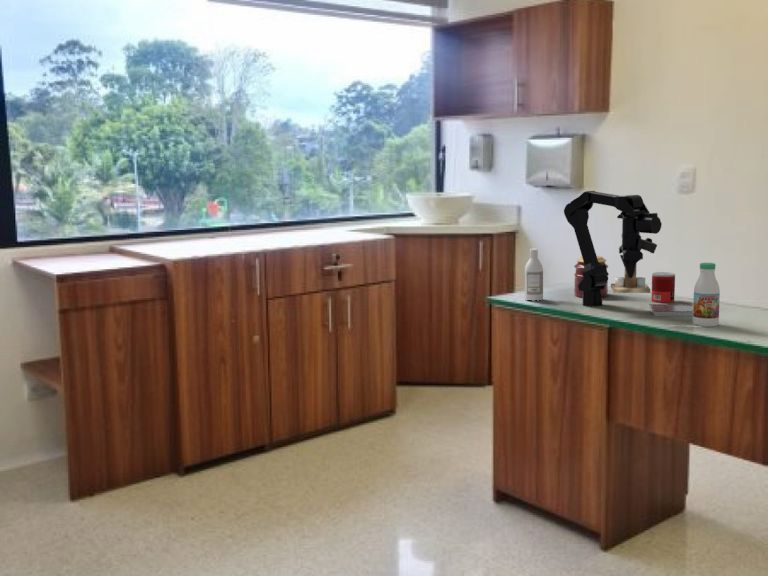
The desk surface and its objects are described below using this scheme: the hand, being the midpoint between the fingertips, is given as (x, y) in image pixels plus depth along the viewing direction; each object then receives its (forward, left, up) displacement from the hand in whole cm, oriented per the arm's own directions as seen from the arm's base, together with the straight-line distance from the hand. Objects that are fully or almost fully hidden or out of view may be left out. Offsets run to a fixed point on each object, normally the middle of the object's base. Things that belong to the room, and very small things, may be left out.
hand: (630, 276), depth 266 cm
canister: (-11, +35, -13) cm, 39 cm away
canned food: (+14, +20, -13) cm, 28 cm away
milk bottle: (+22, -17, -13) cm, 31 cm away
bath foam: (-33, +25, -13) cm, 44 cm away
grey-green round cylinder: (+4, 0, -3) cm, 5 cm away
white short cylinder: (-3, 0, -3) cm, 5 cm away
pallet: (0, 0, -5) cm, 5 cm away
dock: (+14, 0, -13) cm, 19 cm away
